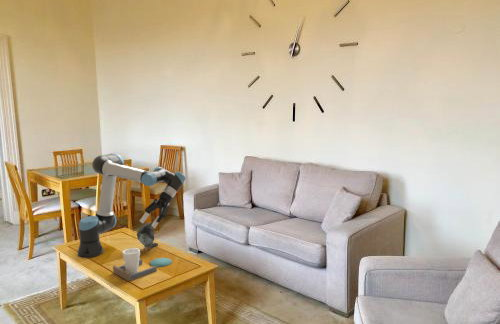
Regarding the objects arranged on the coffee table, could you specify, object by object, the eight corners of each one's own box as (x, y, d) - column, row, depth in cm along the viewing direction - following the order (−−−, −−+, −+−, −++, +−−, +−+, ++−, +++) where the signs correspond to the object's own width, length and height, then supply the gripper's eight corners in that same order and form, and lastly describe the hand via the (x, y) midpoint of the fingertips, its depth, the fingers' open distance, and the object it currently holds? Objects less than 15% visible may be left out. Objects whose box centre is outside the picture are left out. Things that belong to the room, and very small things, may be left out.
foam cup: (143, 270, 219) (143, 249, 217) (134, 277, 210) (134, 254, 208) (129, 268, 221) (128, 247, 220) (120, 275, 212) (119, 253, 211)
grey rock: (131, 249, 251) (130, 223, 249) (149, 243, 264) (149, 218, 261) (146, 254, 243) (145, 227, 241) (164, 247, 256) (163, 221, 253)
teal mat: (145, 262, 230) (145, 262, 229) (163, 256, 239) (163, 256, 239) (158, 268, 221) (158, 268, 221) (176, 262, 231) (176, 261, 231)
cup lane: (113, 272, 216) (113, 266, 215) (141, 263, 229) (141, 256, 228) (128, 281, 205) (127, 274, 204) (156, 270, 218) (156, 264, 218)
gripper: (183, 201, 222) (162, 232, 213) (160, 195, 239) (140, 223, 231) (175, 194, 217) (154, 225, 209) (152, 188, 235) (132, 217, 226)
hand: (147, 224), depth 220 cm, fingers open, 13 cm apart
